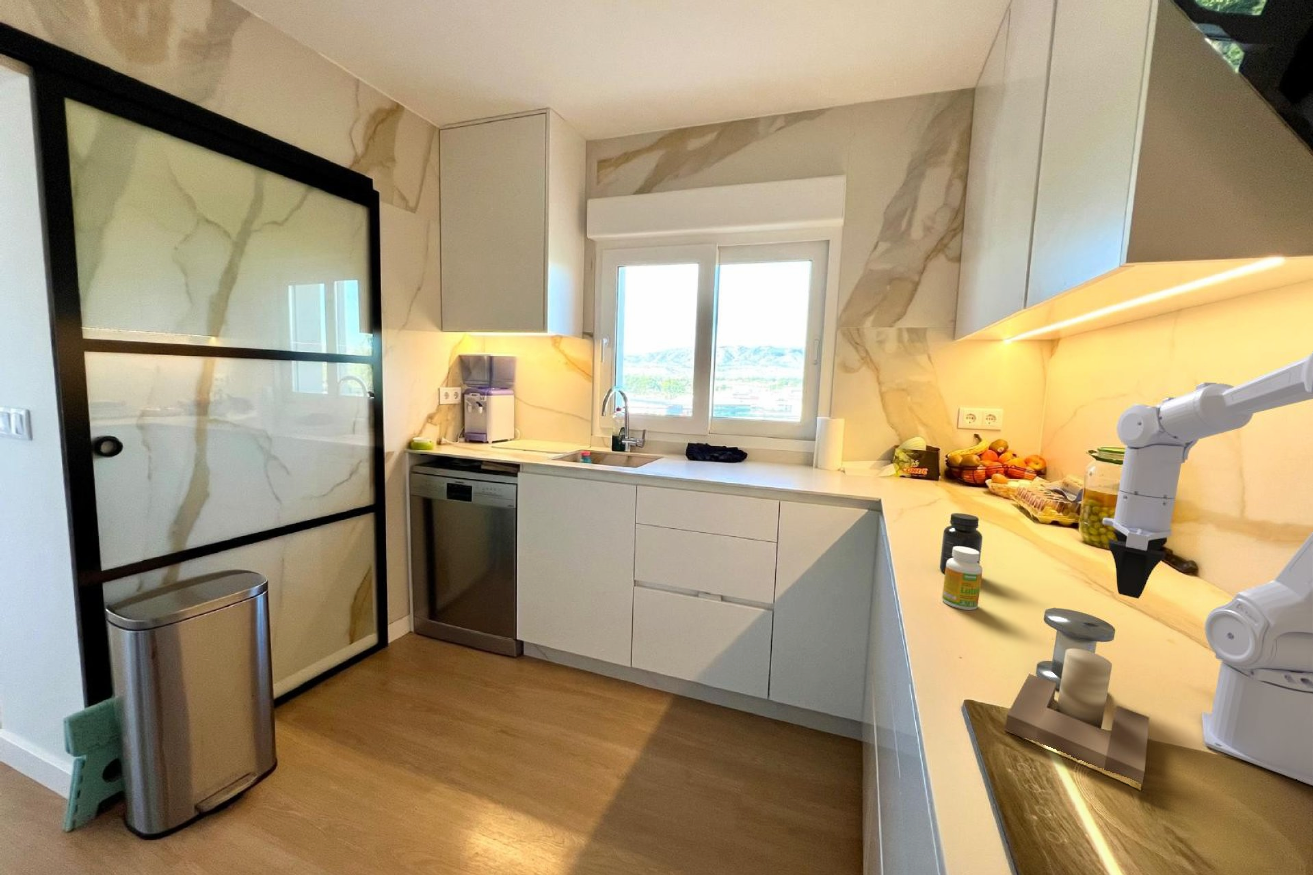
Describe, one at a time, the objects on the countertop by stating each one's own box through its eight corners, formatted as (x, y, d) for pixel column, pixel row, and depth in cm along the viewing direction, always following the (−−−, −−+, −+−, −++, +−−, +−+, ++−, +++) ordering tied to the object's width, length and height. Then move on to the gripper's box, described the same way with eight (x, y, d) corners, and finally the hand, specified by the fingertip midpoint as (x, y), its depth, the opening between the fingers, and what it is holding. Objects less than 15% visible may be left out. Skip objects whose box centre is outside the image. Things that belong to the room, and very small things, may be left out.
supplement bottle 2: (959, 611, 87) (966, 556, 86) (934, 598, 92) (940, 545, 91) (985, 609, 89) (992, 554, 87) (959, 596, 94) (965, 544, 93)
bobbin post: (1107, 684, 67) (1117, 622, 66) (1101, 707, 62) (1112, 640, 61) (1040, 661, 72) (1049, 603, 71) (1031, 680, 67) (1040, 618, 66)
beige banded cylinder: (1102, 725, 59) (1113, 659, 58) (1098, 741, 56) (1110, 672, 55) (1058, 708, 62) (1068, 644, 61) (1052, 723, 59) (1062, 656, 58)
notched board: (1146, 733, 58) (1149, 717, 58) (1141, 790, 49) (1144, 771, 49) (1027, 688, 65) (1029, 673, 65) (1004, 731, 57) (1007, 714, 57)
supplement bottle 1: (945, 565, 110) (952, 509, 109) (982, 575, 105) (990, 517, 104) (933, 572, 105) (940, 514, 104) (971, 583, 101) (979, 522, 99)
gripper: (1112, 482, 79) (1098, 568, 81) (1103, 494, 69) (1087, 592, 71) (1177, 491, 75) (1161, 582, 76) (1177, 505, 64) (1159, 610, 66)
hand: (1130, 588), depth 73 cm, fingers open, 7 cm apart
